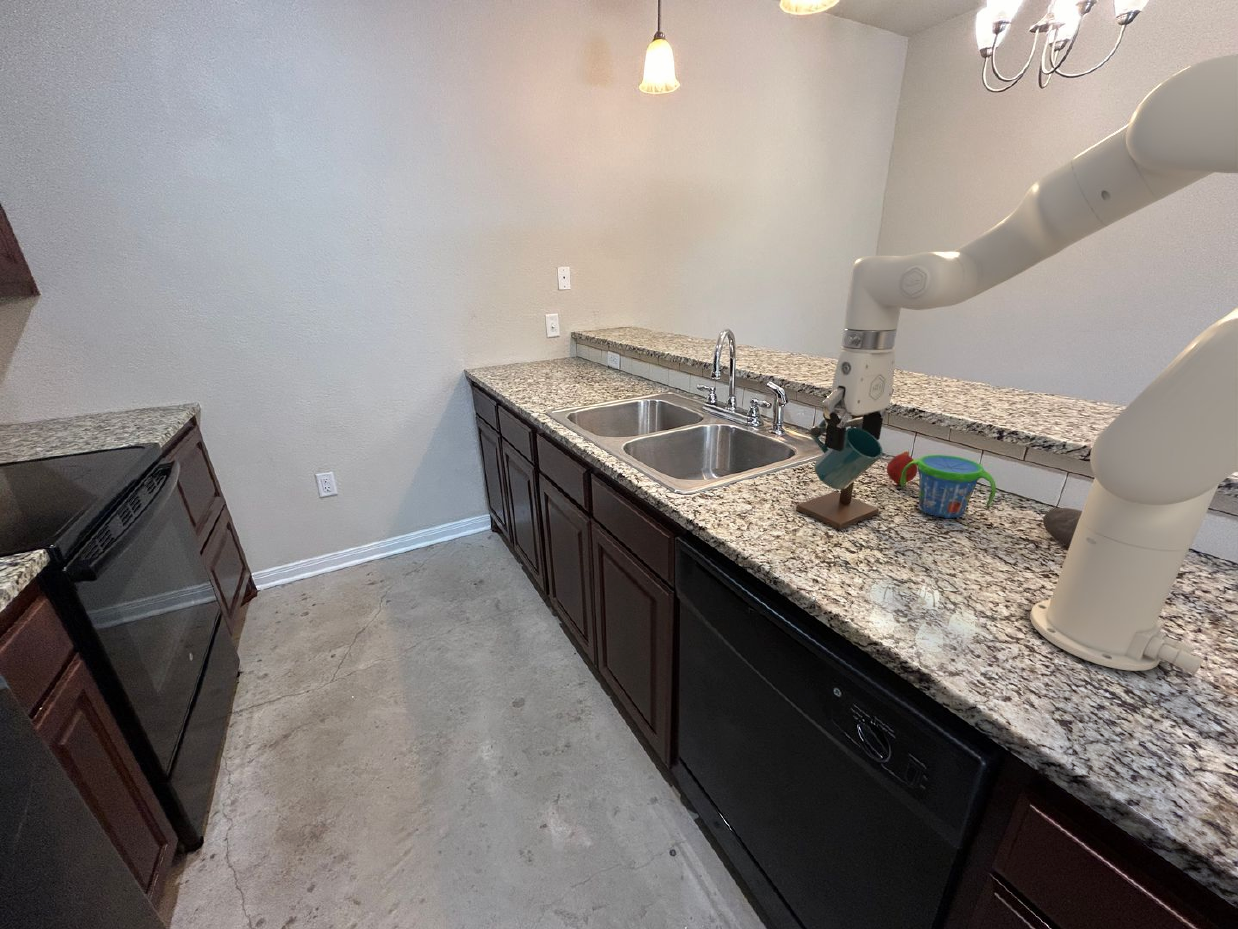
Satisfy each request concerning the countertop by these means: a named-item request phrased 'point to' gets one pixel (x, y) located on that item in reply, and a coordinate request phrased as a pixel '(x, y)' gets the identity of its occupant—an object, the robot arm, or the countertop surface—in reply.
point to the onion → (901, 467)
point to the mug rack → (838, 496)
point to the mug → (847, 458)
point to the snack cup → (947, 484)
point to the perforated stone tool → (1062, 523)
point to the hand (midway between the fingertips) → (852, 443)
